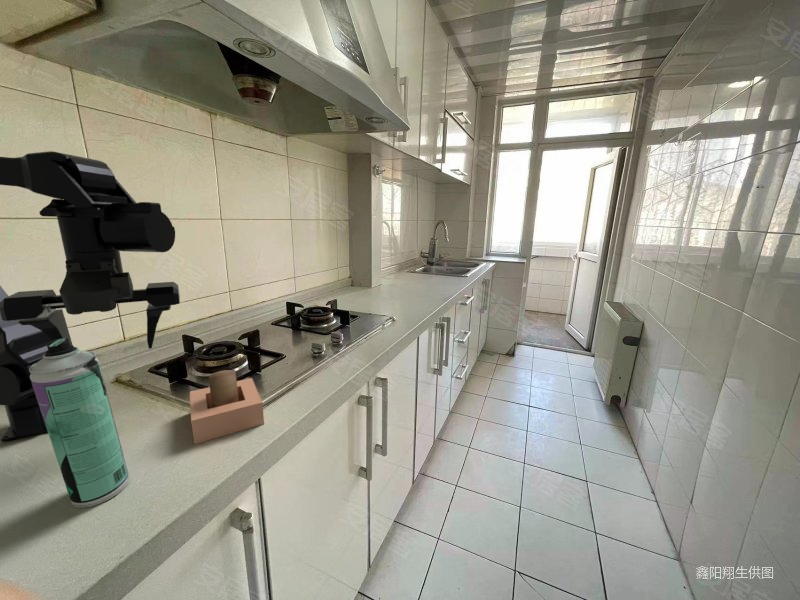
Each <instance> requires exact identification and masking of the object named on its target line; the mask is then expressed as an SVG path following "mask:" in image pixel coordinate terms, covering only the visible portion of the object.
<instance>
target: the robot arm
mask: <svg viewBox="0 0 800 600" xmlns="http://www.w3.org/2000/svg"><path fill="white" fill-rule="evenodd" d="M0 186H10V187H18V188H23V189H26V190H29V191H31V192H32V193H34V194H38V195H43V196H45V197H46V196H47V197H49V198H52V199H51V201H50V203H48V204H47V205H46V206H44V207H43V208H42V209H41V210H39V215H40V216H41V217H50V218H51V217H53V218H57V223H58V228H59V231H60V237H61V242H62V246H63V250H64V255H65V269H66V272H65V277H64V279H63V281H62V284H61V286H60V288H59V290H58V292H59V295H58V294H56V292H55V290H54V289H40V290H25V291H17V292H15V293H12V294H11V295H9V294H8V293H7V292H6V291H5V289H4V288H3V287H2V286H1V285H0V406H4V409H5V412H6V416H7V419H8V422H9V426H10V427H8V429H7V430H6V432H5V433H3V435H2V436H1V438H0V441H1V443H2V442H3V443H4V442H8V441H13V440H16V439H20V438H26V437H31V436H34V435H40V434H43V433H48V431H47V428H46V425H45V422H44V419H43V416H42V413H41V410H40V407H39V404H38V401H37V398H36V395H35V392H34V389H33V386H32V383H31V380H30V375H31V373H30V372H29V368H30V367H31V366H32V365H34V364H35V363H37V362H39V361H40V360H41V359H43V355H44V354H45V353H46V351H47V350H48V348H47V343H48V342H50V341H53V340H56V339H62V338H67V339H69V342H70V345H72V346H74V345H73V341H72V338H71V336H70V335H71V334H70V332H69V329H68V325H67V321H66V317H65V314H64V310H63V309H65V310H66V313H67V314H69V315H75V316H76V315H81V314H82V313H92V312H93V313H94V312H101V313H106V312H111V311H113V310H115V309H116V307H117V304H125V303H138V302H147V304H148V305H147V307H146V309H145V311H146V341H147V347H148V349H152V348H153V345H154V341H155V337H156V336H155V335H156V331H157V327H158V323H159V321H160V319H161V318H160V317H161V316H162V314H163V312H164V311H165V312H166V311H170V310H171V307H172V306H175V305H179V304H180V300H181V296H180V295H181V294H180V289H179V285H178V284H177V283H176V282H175V281H167V282H166V281H165V282H163V281H162V282H150V283H149V282H148V284H146V287H145V288H141V289H140V288H139V289H134V285H133V281H132V278H131V275H130V272H128V271H126V272H125V271H124V269H123V263H122V258H121V253H120V252H129V253H131V252H132V253H133V252H134V253H139V252H140V253H166V252H169V251H170V250H171V249H172V248H173V246H174V244H175V242H176V229H175V226H173V223H172V222H171V221H172V220H170V218H169V217H168V215H167V214H166V213H164V212H163V211H162V206H161V203H159V202H150V201H147V202H146V201H140V202H137V201H136V200H135V199H134V198H133V197H132V196H131V194H129V193H128V191H127V190H126V188H125V187H123V186H122V184H121V183H120V182H119V180H118V179H116V177H115V173H113V171H112V169H111V168H110V167H109V166H108V164H107V163H105V162H104V161H102V160H99V159H92V158H89V157H88V158H87V157H83V156H79V155H78V156H77V155H73V154H67V153H62V152H58V151H41V152H40V151H39V152H32V153H31V152H30V153H26V154H24V155H23V156H18V157H8V156H0Z"/></svg>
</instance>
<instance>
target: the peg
mask: <svg viewBox="0 0 800 600" xmlns="http://www.w3.org/2000/svg"><path fill="white" fill-rule="evenodd" d="M237 381H238V380H237V372H236V371H234V370H230V369H227V370H226V369H225V370H220V371H216V372H213V373H211V374H210V375H209V376H208V383H209V387H210V393H211V401H212V408H215V407H219V406H223V405H227V404H231V403H235V402H239V400H238V390H237Z"/></svg>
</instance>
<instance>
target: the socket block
mask: <svg viewBox="0 0 800 600" xmlns="http://www.w3.org/2000/svg"><path fill="white" fill-rule="evenodd" d="M237 390H238V400H239V402H235V403H231V404H227V405H223V406H219V407H215V408H212V401H211V393H210V386H208V387H204V388H200V389H195V390H191V391H189V401H190V403H189V404H190V421H191V429H192V436H193V442H194V445H197V444H199V443H203V442H205V441H209V440H214V439H216V438H221V437H223V436H226V435H230V434H234V433H237V432H240V431H243V430H246V429H251V428H254V427H258V426H261V425H264V424H265V419H264V418H265V415H264V407H263V406H264V405H263V401H262V398H261V396H260V394H259V392H258V388H257V386H256V385H255V382H254V379H253V378H252V377H249V378H246V379H241V380H237Z"/></svg>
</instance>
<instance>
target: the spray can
mask: <svg viewBox="0 0 800 600" xmlns="http://www.w3.org/2000/svg"><path fill="white" fill-rule="evenodd" d="M72 345H73V344H72ZM72 345H70V342H69V339H67V338H62V339H56V340H53V341H50V342H48V343H47V348H48V350H47V351H46V353H45V354H44V355H43V359H41V360H40V361H39V362H37V363H35V364H34V365H32V366H31V367H30V368H29V372H30V373H31V375H30V380H31V383H32V386H33V389H34V392H35V395H36V398H37V401H38V404H39V407H40V410H41V413H42V416H43V419H44V422H45V425H46V428H47V431H48V432H47V433H48V436H49V439H50V440H49V441H50V442H51V446H52V449H53V452H54V455H55V458H56V460H57V463H58V466H59V470H60V473H61V475H62V478H63V482H64V485H65V488H66V491H67V494H68V497H69V500H70V502H71V504H72V506H73V505H75V506H76V508H79V507H82V508H81V509H85V508H90V507H94V506H97V505H101V504H102V503H104V502H106V501H108V500H110V499H112V498H113V497H115V496H117V495H118V494H119V493H120V492H122V490H123V489H125V487H127V486H128V484H129V481H130V474H129V470H128V466H127V462H126V460H125V459H126V458H125V456H124V455H125V454H124V451H123V448H122V444H121V440H120V437H119V433H118V429H117V426H116V422H115V418H114V417H115V416H114V414H113V410H112V407H111V402H110V399H109V396H108V391H107V388H106V383H105V379H104V377H103V373H102V370H101V365H100V362H99V358H97V355H96V353H95V352H93V351H85V350H82V349H79V347H78V346H74V345H73V346H72ZM75 506H74V507H75Z"/></svg>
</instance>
